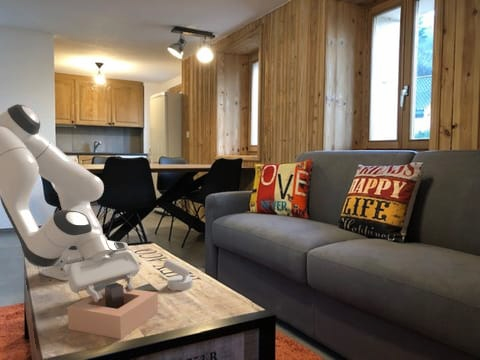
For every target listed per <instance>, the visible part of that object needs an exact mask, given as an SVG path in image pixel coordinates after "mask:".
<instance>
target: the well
mask: <svg viewBox="0 0 480 360" xmlns="http://www.w3.org/2000/svg"><path fill="white" fill-rule="evenodd" d="M123 291H124V306H122V307H120V308H119V309H114V308H108V307H106V304H105V288H104V289H102V290H100V291H98V292H97V293H100V292H101V295H102V297H103V299H102V300H101V301H98V302H95V300H94V297H92V296H91V295H89V296H87V297H85V298H83V299H81V300H79V301H77V302H75V303H73V304H71V305H69V306H67V307H66V308H67V310H66V311H67V326H68V327H67V328H68V330H72V331H76V332H77V331H78V332H83V333H87V334H92V335H97V336H102V337H108V338H113V339H116V340H122V339H123V338H125V337H127V336H128V335H130V334H131V333H132V332H133V331H135V330H136V329H138V328H139V327H141V326H142V325H143V324H144V323H146V322H147V321H149V320H150V319H151V318H152V317H154V316H156V315H157V314H158V313H159V300H158V292H155V291H148V290H142V289H135V288H133V290H132V291H130V292H126V290H125V287H123Z"/></svg>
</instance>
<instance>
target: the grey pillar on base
mask: <svg viewBox="0 0 480 360" xmlns="http://www.w3.org/2000/svg"><path fill="white" fill-rule="evenodd" d="M123 288H124V284H120V283H118V282H116V283H113V284H110V285H106V286H105V304H106V307H108V308H114V309H119V308H120V307H122V306H124V291H123Z"/></svg>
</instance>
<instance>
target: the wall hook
mask: <svg viewBox="0 0 480 360" xmlns="http://www.w3.org/2000/svg"><path fill="white" fill-rule="evenodd" d="M163 267H164V268H165V269H167V270H169V271H172V272H174V273H175V274H177V275H173V276H169V277H168V278H167V281H166V282H167V289H168V288H169V289H168V290H170V289H171V290H170V291H174V290H182V291H186V290H187V291H188V290H190V289H192V287H193V285H194V283H193V277H192V276H191V275H190V270H189V268H187V267H185V266H183V265H182V264H179V263H178V262H175V261H174V260H172V259H170V258H167V259H166V260H165V262H164V263H163Z"/></svg>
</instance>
